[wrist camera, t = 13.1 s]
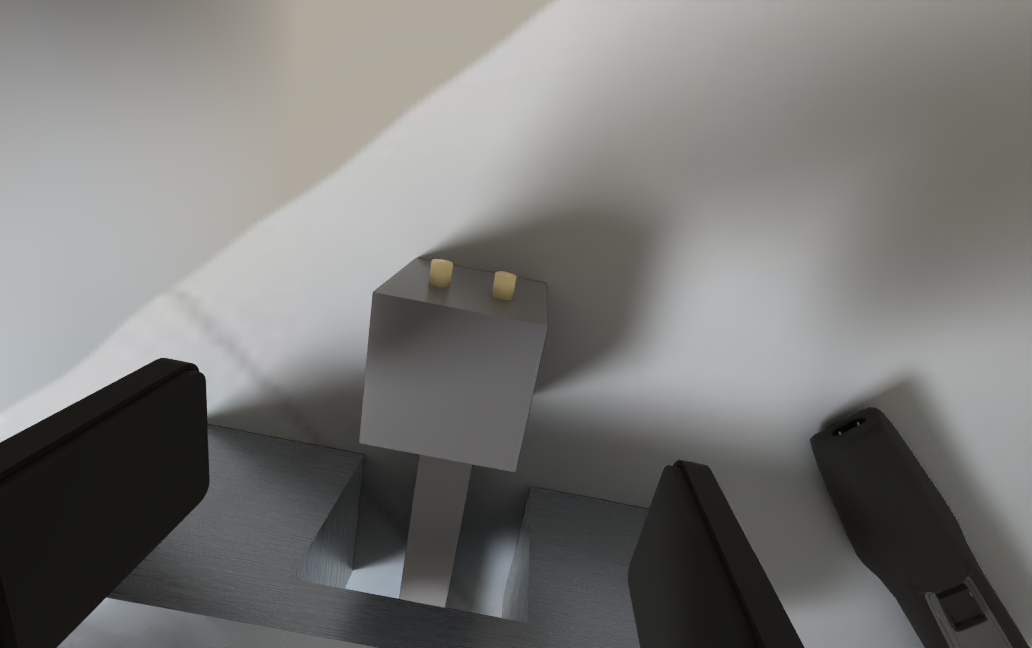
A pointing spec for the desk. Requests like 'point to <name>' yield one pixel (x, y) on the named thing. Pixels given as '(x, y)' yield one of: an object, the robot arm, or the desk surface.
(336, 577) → the block
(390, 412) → the lever
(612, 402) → the desk surface
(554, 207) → the desk surface
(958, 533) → the electric trimmer
